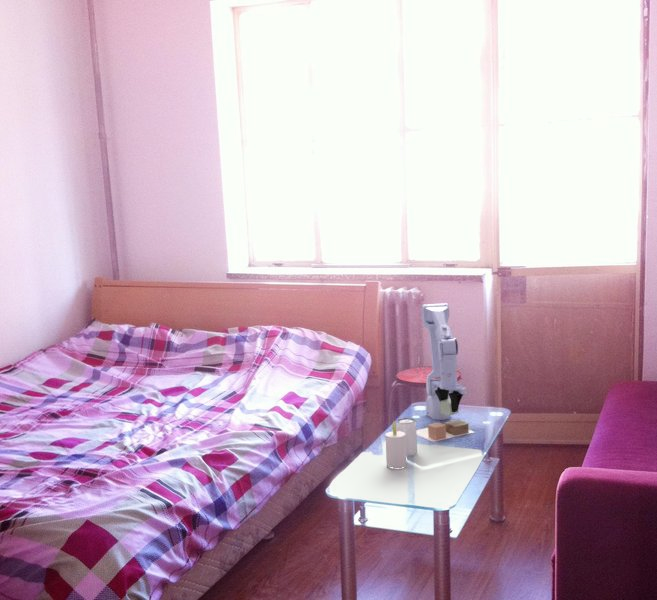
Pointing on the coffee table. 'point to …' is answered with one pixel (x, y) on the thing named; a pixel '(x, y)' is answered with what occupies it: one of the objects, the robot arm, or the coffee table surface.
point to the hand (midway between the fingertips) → (449, 410)
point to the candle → (395, 448)
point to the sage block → (447, 407)
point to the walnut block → (457, 427)
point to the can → (408, 434)
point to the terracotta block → (437, 431)
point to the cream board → (425, 435)
